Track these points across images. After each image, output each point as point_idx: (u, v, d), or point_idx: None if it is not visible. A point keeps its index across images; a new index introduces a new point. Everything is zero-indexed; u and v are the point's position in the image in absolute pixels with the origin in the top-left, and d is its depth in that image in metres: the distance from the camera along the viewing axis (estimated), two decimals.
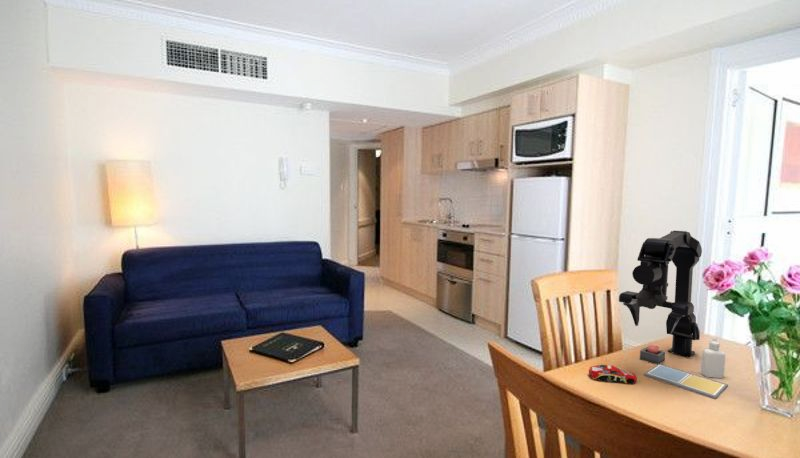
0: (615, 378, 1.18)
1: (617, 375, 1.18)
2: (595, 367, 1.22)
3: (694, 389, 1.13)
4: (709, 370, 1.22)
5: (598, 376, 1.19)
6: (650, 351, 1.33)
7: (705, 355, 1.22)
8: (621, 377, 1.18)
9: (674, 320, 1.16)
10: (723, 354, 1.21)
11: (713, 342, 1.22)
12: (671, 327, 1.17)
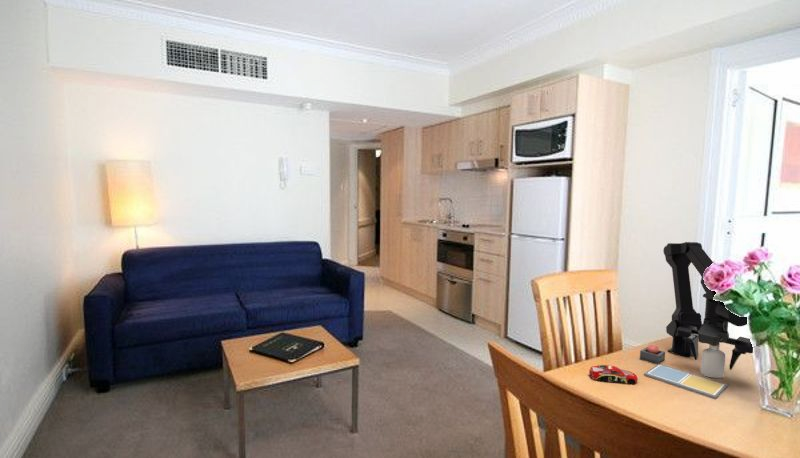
0: (616, 378, 1.18)
1: (618, 375, 1.18)
2: (596, 367, 1.22)
3: (694, 389, 1.13)
4: (709, 370, 1.22)
5: (599, 376, 1.19)
6: (650, 351, 1.33)
7: (705, 355, 1.22)
8: (622, 377, 1.18)
9: (736, 356, 1.17)
10: (723, 354, 1.21)
11: None
12: (732, 363, 1.18)
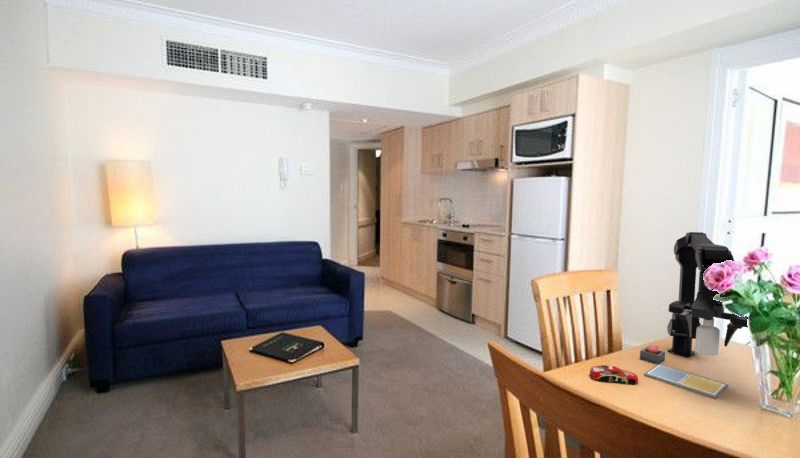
0: (616, 379, 1.18)
1: (618, 375, 1.18)
2: (596, 368, 1.22)
3: (694, 389, 1.13)
4: (705, 348, 1.14)
5: (599, 377, 1.19)
6: (650, 351, 1.33)
7: (701, 332, 1.14)
8: (622, 377, 1.17)
9: (731, 332, 1.10)
10: (718, 330, 1.14)
11: None
12: (727, 339, 1.11)
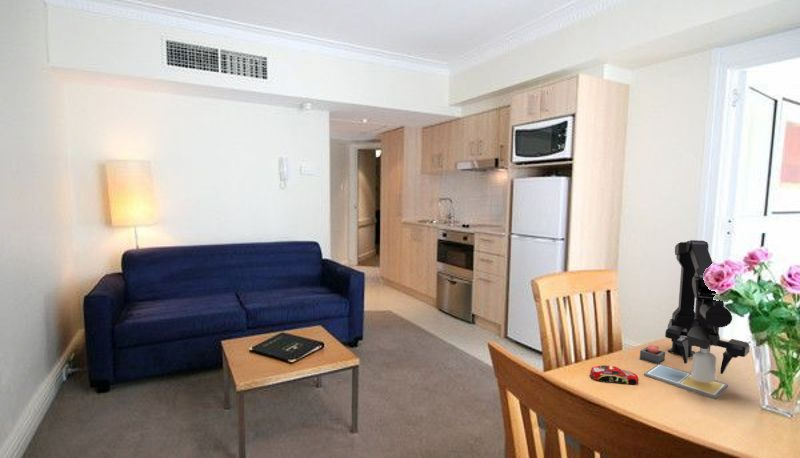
0: (617, 379, 1.18)
1: (619, 376, 1.18)
2: (597, 368, 1.21)
3: (694, 389, 1.13)
4: (701, 375, 1.14)
5: (600, 377, 1.19)
6: (650, 351, 1.33)
7: (697, 359, 1.14)
8: (623, 378, 1.17)
9: (727, 360, 1.10)
10: (714, 357, 1.14)
11: None
12: (723, 367, 1.11)
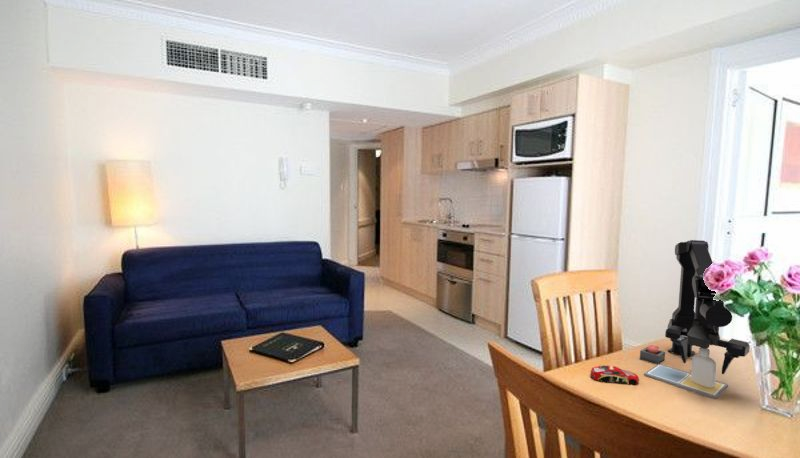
0: (617, 379, 1.18)
1: (619, 376, 1.18)
2: (597, 368, 1.21)
3: (694, 389, 1.13)
4: (694, 375, 1.16)
5: (600, 377, 1.19)
6: (650, 351, 1.33)
7: None
8: (623, 378, 1.17)
9: (728, 360, 1.10)
10: (709, 362, 1.13)
11: (700, 348, 1.15)
12: (725, 367, 1.11)
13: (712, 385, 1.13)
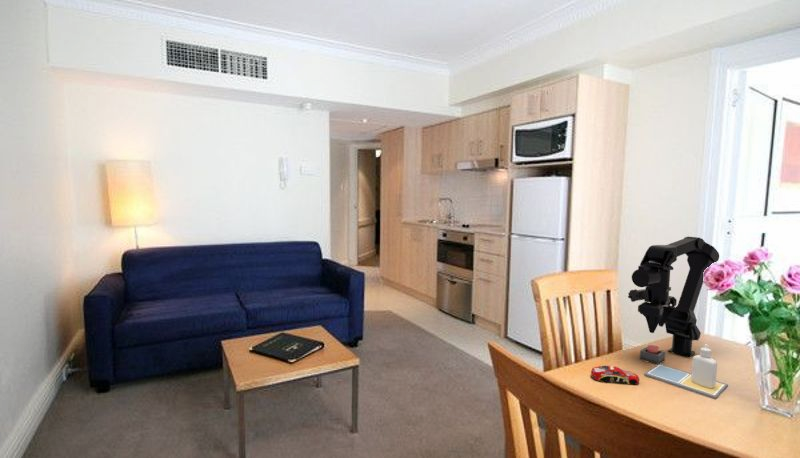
0: (618, 379, 1.18)
1: (620, 376, 1.18)
2: (597, 368, 1.21)
3: (694, 389, 1.13)
4: (694, 375, 1.16)
5: (601, 377, 1.19)
6: (650, 351, 1.33)
7: None
8: (624, 378, 1.17)
9: None
10: (710, 363, 1.13)
11: (702, 348, 1.15)
12: None
13: (712, 385, 1.13)
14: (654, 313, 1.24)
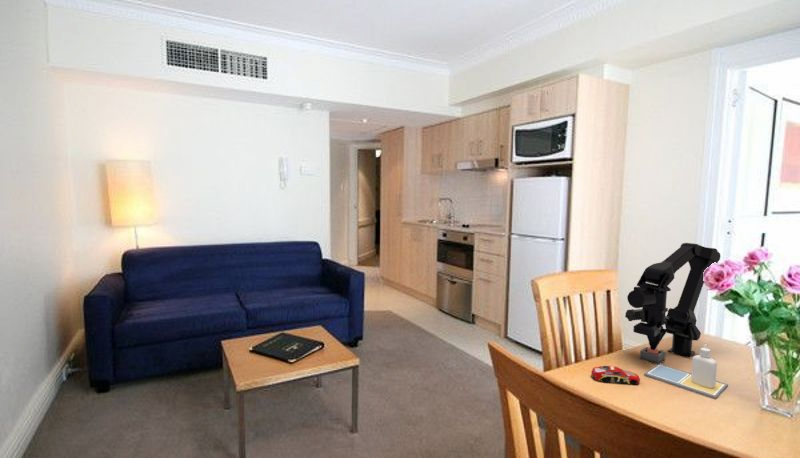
0: (618, 379, 1.18)
1: (620, 376, 1.17)
2: (598, 368, 1.21)
3: (694, 389, 1.13)
4: (694, 375, 1.16)
5: (601, 377, 1.18)
6: None
7: None
8: (624, 378, 1.17)
9: None
10: (710, 363, 1.13)
11: (701, 348, 1.15)
12: None
13: (712, 385, 1.13)
14: (649, 334, 1.26)
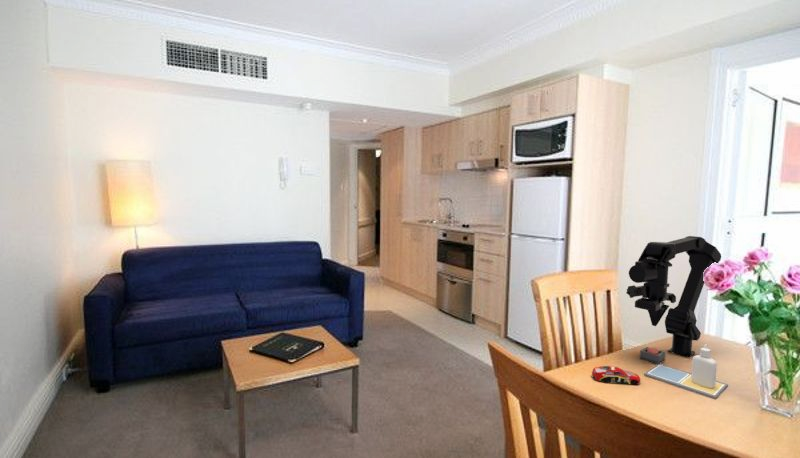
0: (619, 379, 1.17)
1: (621, 376, 1.17)
2: (598, 368, 1.21)
3: (694, 389, 1.13)
4: (694, 375, 1.16)
5: (602, 377, 1.18)
6: None
7: None
8: (625, 378, 1.17)
9: None
10: (710, 363, 1.13)
11: (701, 348, 1.15)
12: None
13: (712, 385, 1.13)
14: (650, 308, 1.25)
